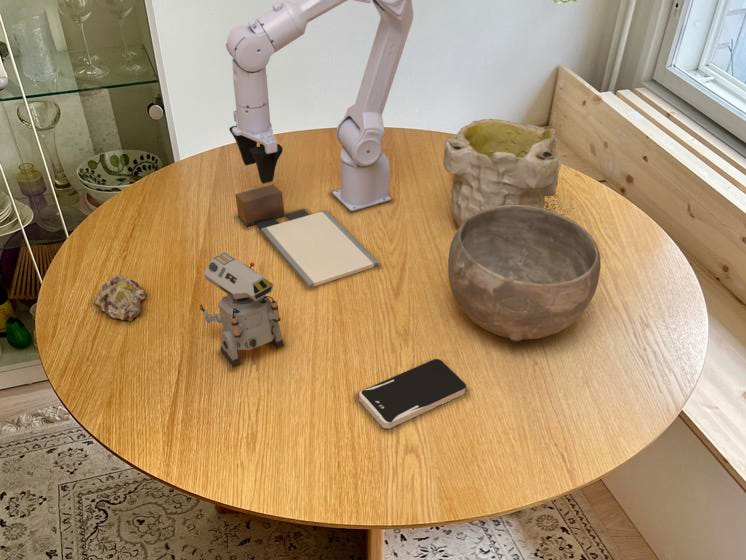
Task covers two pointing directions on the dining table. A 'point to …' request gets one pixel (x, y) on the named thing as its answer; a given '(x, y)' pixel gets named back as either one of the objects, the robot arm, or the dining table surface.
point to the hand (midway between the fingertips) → (258, 172)
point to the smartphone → (411, 393)
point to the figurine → (243, 307)
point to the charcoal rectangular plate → (297, 214)
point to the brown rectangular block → (259, 204)
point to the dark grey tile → (267, 223)
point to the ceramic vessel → (500, 166)
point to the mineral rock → (120, 298)
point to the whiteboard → (318, 248)
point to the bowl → (523, 270)
